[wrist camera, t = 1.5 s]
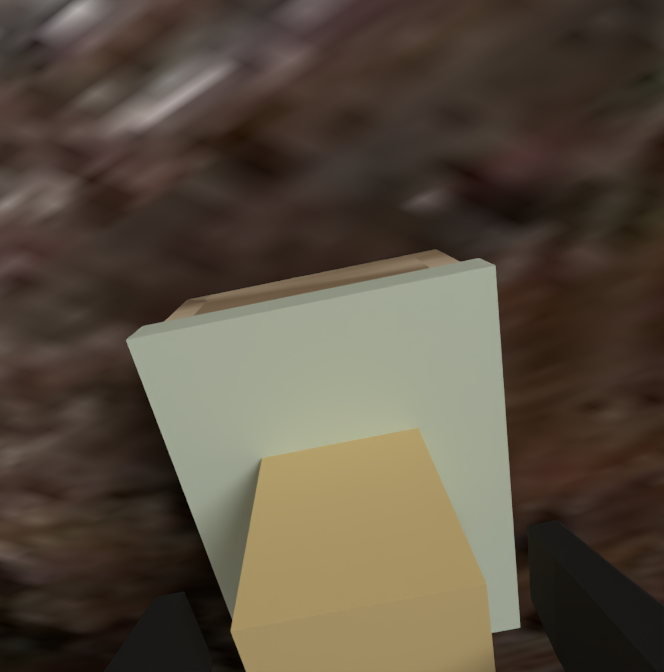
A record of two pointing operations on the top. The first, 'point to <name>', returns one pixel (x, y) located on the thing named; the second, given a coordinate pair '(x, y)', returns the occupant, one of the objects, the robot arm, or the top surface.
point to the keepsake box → (312, 283)
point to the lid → (348, 469)
